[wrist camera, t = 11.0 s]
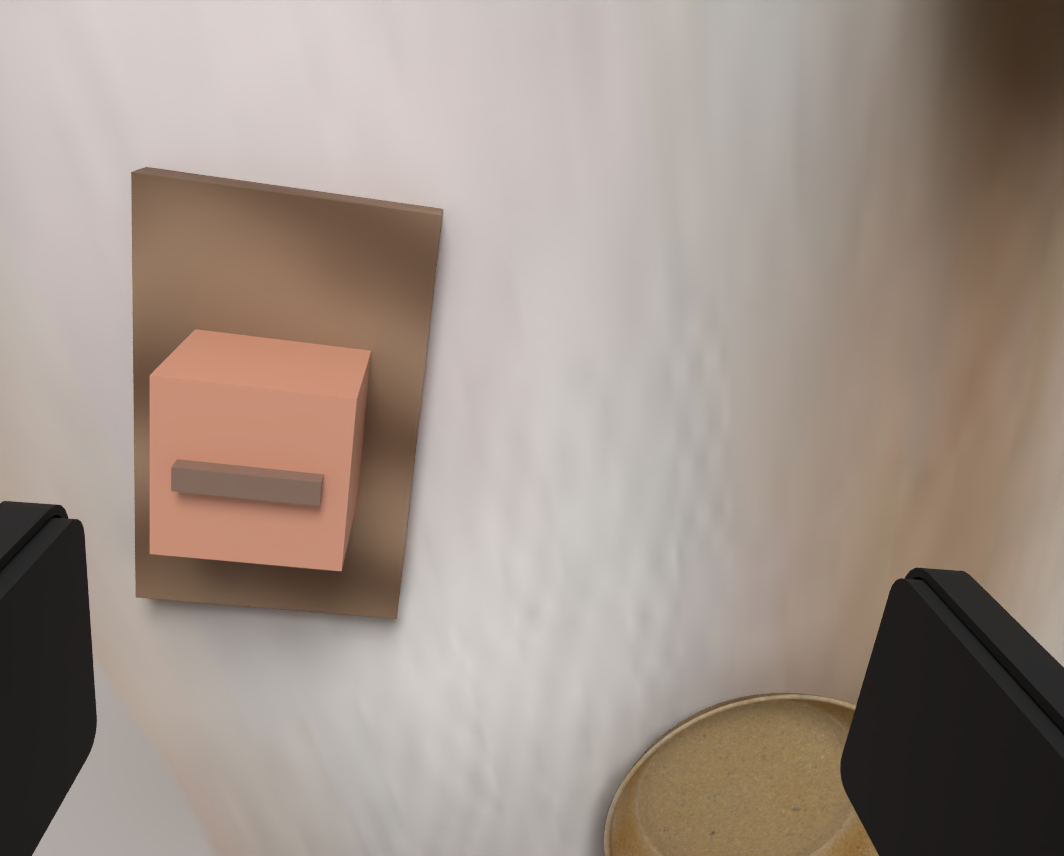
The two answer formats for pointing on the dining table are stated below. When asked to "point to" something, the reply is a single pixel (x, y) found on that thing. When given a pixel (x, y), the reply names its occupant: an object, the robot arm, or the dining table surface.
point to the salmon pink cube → (256, 450)
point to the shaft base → (295, 315)
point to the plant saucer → (742, 784)
